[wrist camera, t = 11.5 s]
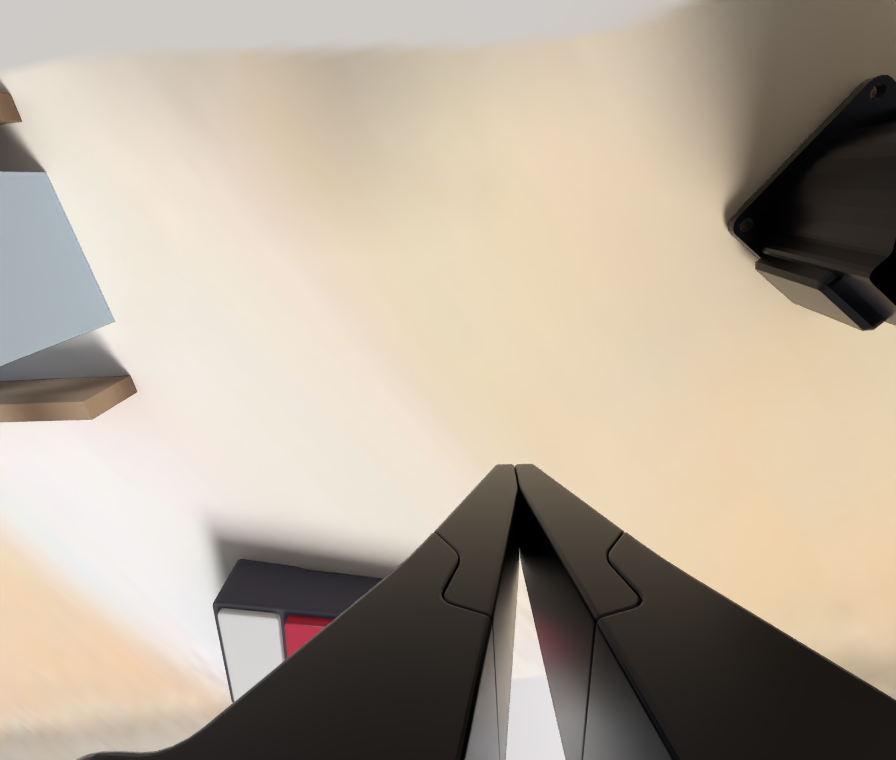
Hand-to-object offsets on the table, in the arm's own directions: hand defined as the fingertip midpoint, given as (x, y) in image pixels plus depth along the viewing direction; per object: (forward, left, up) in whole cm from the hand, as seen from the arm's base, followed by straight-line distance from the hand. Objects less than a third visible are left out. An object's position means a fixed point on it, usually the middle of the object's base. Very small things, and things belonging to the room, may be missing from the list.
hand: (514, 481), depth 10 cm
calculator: (+25, +6, -13) cm, 28 cm away
